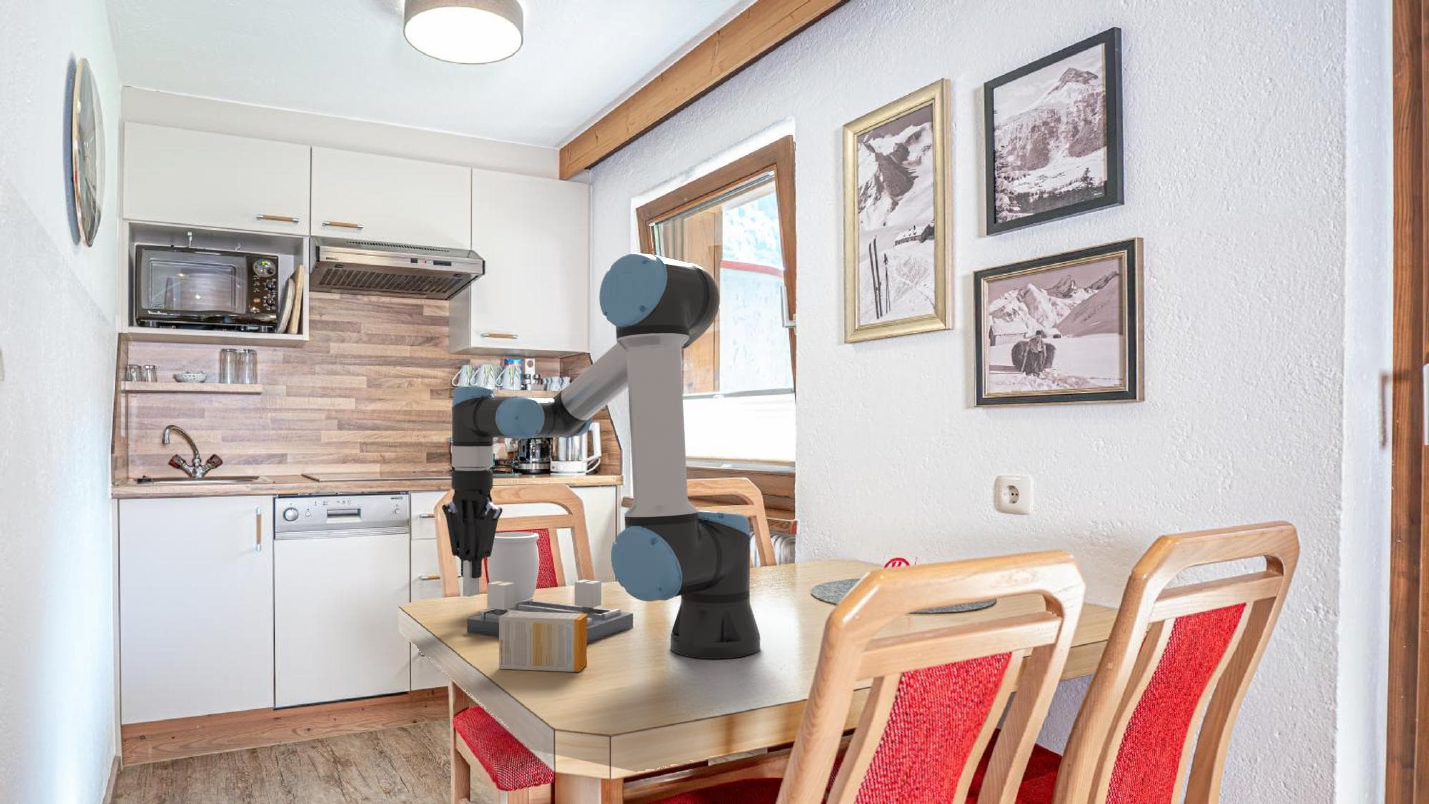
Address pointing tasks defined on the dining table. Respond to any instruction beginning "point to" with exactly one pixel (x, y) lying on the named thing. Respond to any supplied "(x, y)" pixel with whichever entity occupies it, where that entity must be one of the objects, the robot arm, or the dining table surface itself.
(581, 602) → the fader
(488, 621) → the dark grey slotted tray
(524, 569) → the jar
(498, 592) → the fader
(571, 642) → the supplement box
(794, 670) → the dining table surface
